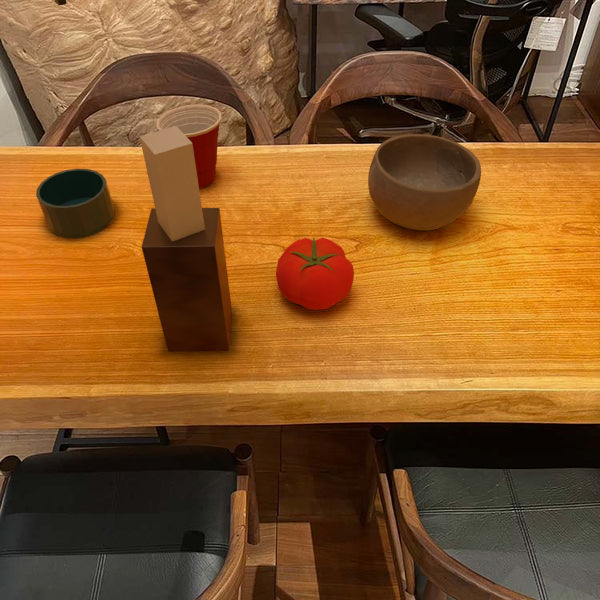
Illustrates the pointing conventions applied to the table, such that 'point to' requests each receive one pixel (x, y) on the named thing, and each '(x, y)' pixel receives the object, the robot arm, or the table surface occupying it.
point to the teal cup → (76, 203)
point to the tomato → (314, 273)
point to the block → (173, 182)
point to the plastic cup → (197, 136)
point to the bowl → (423, 180)
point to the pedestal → (190, 285)
